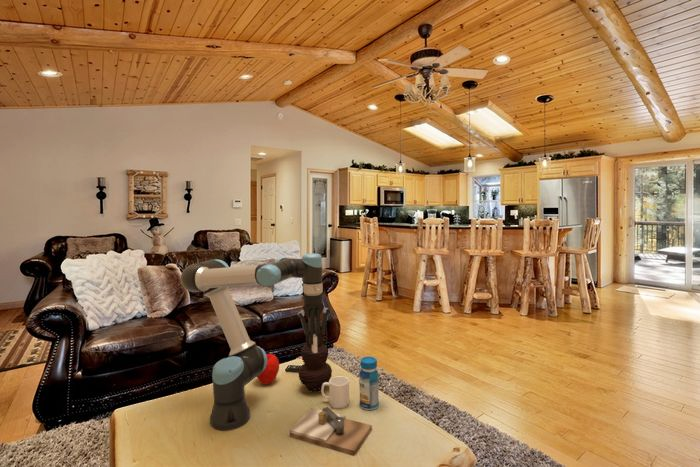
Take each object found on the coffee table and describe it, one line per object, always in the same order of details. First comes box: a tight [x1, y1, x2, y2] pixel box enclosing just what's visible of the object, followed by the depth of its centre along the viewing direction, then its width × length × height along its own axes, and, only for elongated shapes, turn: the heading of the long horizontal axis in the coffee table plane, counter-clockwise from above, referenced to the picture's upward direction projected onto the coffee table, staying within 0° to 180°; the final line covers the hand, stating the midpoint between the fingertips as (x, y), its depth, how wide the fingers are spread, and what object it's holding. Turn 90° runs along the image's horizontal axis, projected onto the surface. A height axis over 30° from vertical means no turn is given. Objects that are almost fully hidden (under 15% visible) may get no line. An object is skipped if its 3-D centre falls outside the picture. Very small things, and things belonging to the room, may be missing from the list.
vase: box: [297, 321, 333, 393], centre depth 173 cm, size 15×15×30 cm
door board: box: [289, 407, 373, 456], centre depth 141 cm, size 26×16×7 cm, turn 65°
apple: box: [256, 353, 280, 385], centre depth 181 cm, size 12×12×13 cm
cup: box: [320, 375, 350, 409], centre depth 161 cm, size 8×12×10 cm
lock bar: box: [321, 406, 344, 435], centre depth 142 cm, size 12×3×5 cm, turn 34°
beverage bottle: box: [358, 356, 380, 411], centre depth 159 cm, size 8×8×20 cm
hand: (314, 351), depth 151 cm, fingers closed
